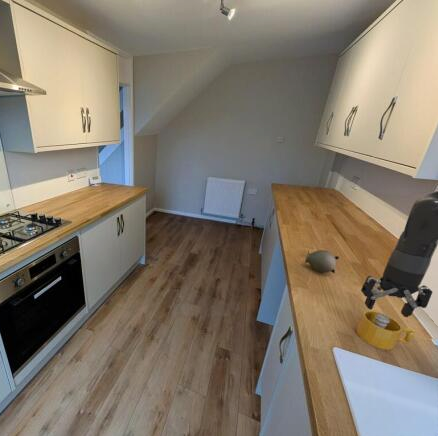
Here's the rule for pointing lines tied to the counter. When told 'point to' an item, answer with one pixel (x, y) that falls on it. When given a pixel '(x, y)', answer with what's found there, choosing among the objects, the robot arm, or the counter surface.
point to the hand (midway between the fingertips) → (386, 311)
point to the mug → (381, 331)
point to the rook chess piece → (381, 321)
